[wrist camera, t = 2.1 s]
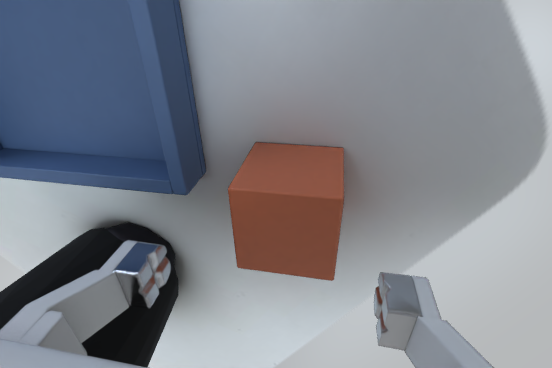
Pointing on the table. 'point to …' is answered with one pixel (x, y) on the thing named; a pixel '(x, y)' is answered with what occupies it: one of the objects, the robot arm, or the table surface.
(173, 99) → the blue tray
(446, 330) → the robot arm
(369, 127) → the table surface
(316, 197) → the terracotta block
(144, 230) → the portable speaker
